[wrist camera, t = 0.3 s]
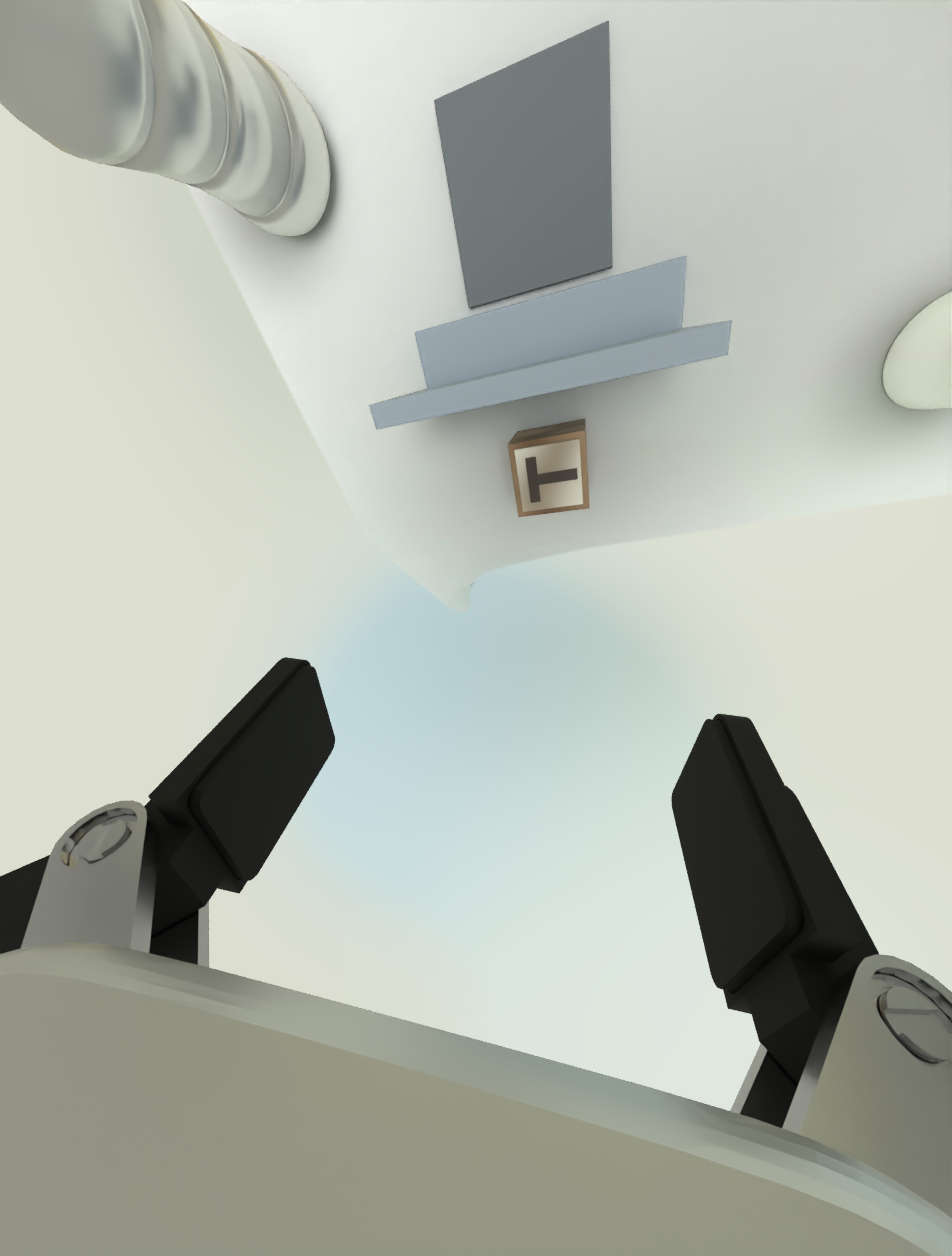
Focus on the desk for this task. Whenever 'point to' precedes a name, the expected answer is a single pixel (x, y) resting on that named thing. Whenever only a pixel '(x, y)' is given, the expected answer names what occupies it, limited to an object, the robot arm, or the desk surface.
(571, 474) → the letter cube
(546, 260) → the mat
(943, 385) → the beer glass
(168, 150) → the plastic bottle
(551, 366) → the screen
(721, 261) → the desk surface
